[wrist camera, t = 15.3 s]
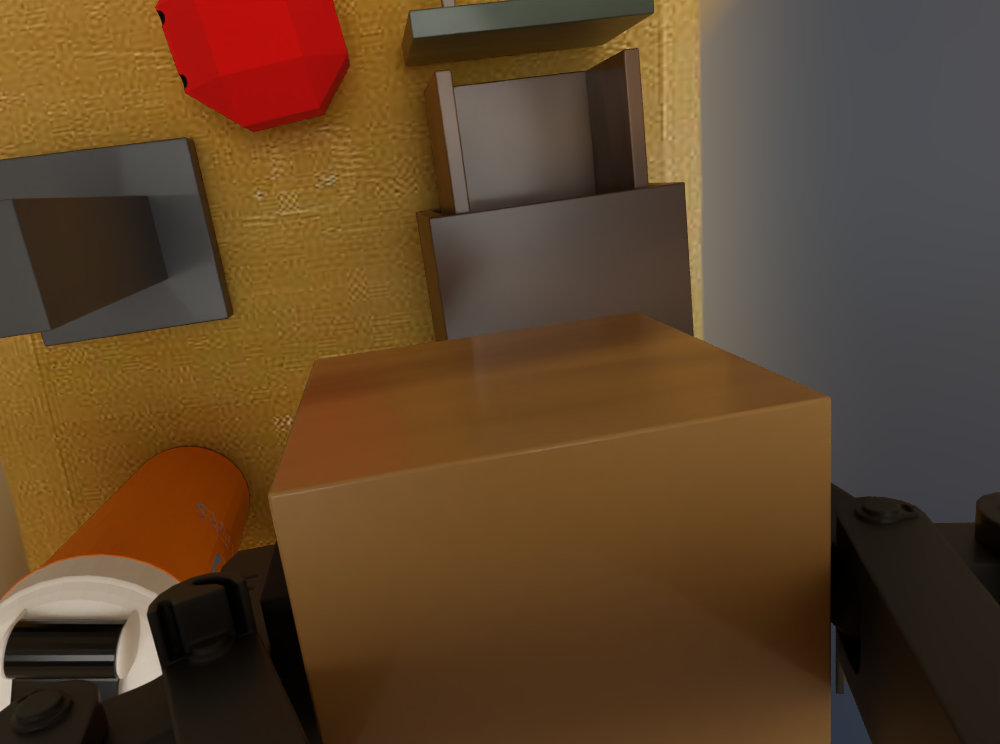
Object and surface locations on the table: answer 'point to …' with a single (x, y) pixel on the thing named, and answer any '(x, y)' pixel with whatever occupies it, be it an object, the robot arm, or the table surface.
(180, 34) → the red faceted polyhedron
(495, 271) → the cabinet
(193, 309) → the stand
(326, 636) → the oak block
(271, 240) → the table surface
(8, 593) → the shaker bottle
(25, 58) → the table surface
